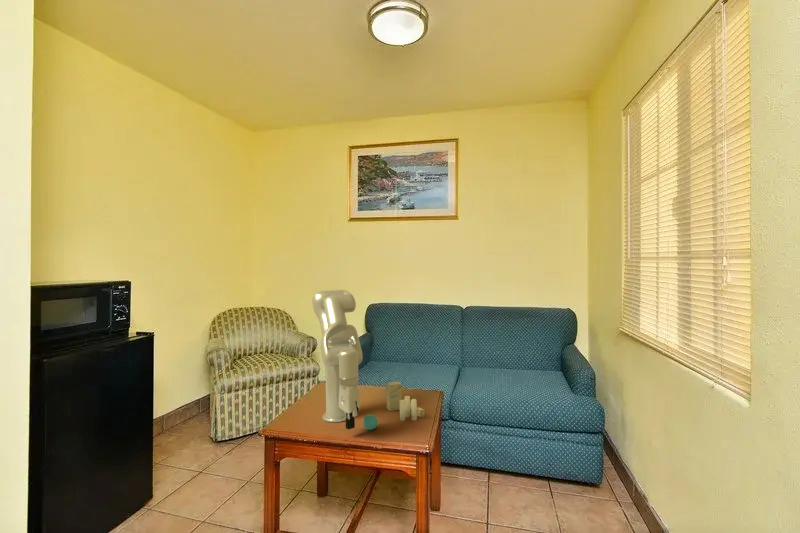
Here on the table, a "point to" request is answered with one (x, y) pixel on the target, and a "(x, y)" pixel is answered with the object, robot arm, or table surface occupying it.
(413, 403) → the pin
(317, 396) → the table surface
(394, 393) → the skincare box
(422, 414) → the back rail
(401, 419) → the pin front
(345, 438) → the table surface
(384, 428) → the table surface
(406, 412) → the pin
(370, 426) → the ball
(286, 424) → the table surface
